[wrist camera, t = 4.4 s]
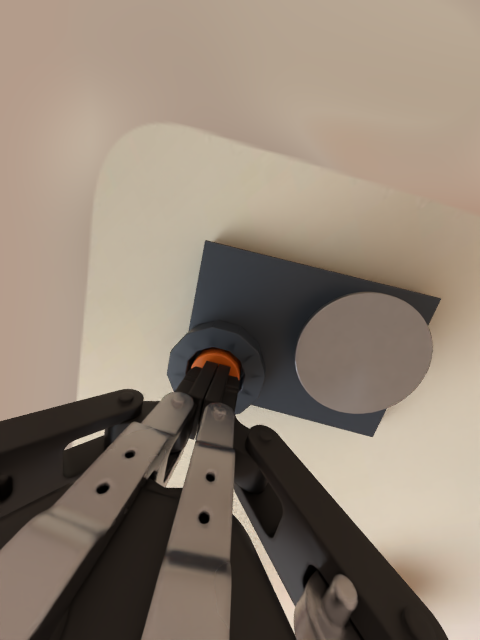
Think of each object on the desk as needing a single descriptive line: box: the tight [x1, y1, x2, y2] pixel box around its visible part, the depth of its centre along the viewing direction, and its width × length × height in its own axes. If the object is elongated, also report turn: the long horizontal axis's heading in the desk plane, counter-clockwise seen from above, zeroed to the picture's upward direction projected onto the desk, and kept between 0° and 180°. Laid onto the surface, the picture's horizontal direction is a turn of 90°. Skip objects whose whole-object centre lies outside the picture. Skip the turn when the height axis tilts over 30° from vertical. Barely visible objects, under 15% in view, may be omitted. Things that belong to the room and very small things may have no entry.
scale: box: [167, 241, 441, 437], centre depth 14 cm, size 14×10×3 cm
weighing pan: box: [294, 292, 433, 414], centre depth 12 cm, size 7×7×1 cm
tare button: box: [191, 347, 241, 380], centre depth 14 cm, size 3×3×2 cm
